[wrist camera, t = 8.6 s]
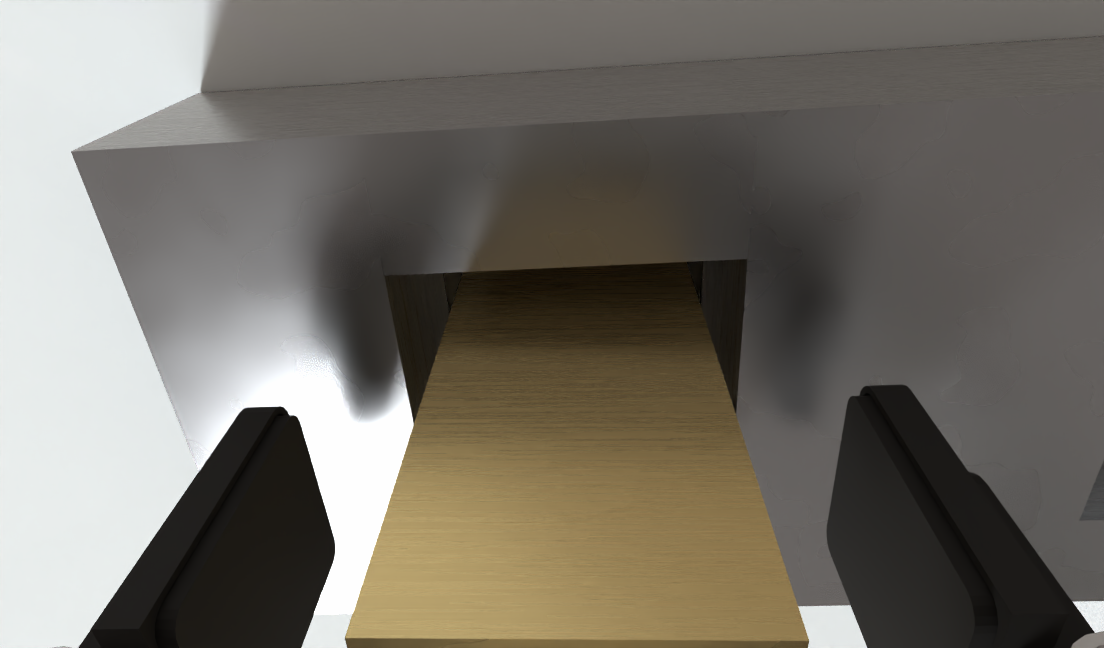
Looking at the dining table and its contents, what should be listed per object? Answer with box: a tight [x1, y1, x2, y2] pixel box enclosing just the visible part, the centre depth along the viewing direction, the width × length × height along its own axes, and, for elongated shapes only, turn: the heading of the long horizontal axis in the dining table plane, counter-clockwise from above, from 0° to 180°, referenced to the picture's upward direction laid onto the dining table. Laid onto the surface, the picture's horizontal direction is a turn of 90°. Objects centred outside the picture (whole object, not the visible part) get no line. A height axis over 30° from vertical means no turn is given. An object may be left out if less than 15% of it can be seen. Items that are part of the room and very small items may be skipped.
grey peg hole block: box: [71, 36, 1104, 614], centre depth 14 cm, size 26×10×4 cm, turn 94°
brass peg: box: [345, 262, 809, 648], centre depth 12 cm, size 4×4×10 cm
